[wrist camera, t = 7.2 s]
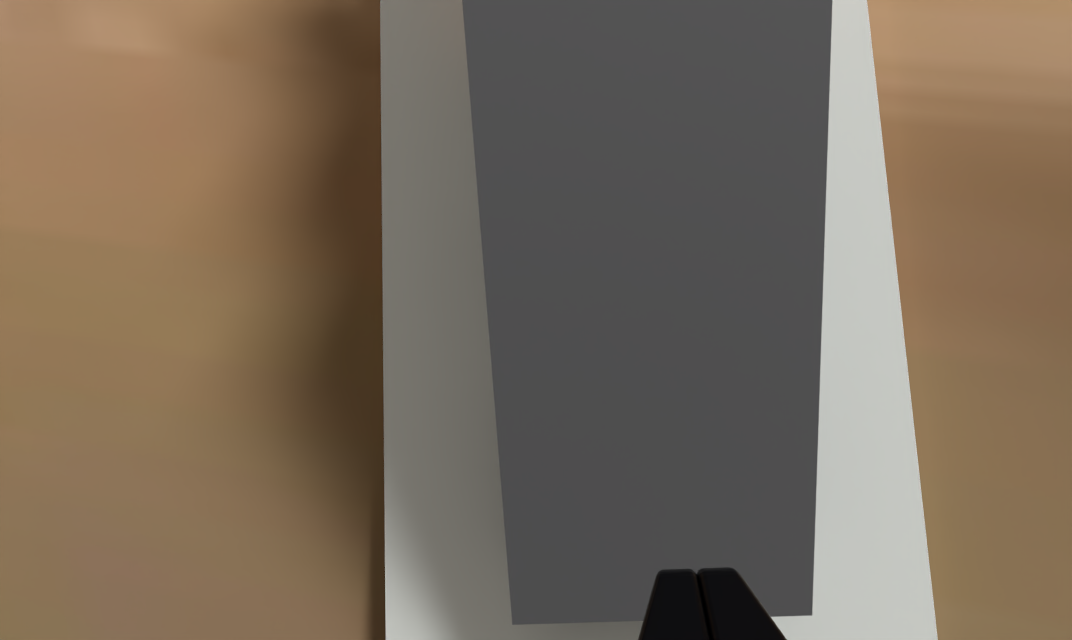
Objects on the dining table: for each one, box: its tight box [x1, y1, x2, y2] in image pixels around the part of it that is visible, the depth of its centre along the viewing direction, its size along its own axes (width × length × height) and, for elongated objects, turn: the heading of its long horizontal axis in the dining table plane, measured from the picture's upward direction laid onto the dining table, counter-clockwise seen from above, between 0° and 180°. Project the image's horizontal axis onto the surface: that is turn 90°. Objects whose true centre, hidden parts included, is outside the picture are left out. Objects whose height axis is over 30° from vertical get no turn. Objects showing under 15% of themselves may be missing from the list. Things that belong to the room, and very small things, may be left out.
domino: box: [462, 0, 832, 625], centre depth 14 cm, size 2×5×10 cm
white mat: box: [380, 0, 938, 640], centre depth 17 cm, size 20×10×1 cm, turn 2°
